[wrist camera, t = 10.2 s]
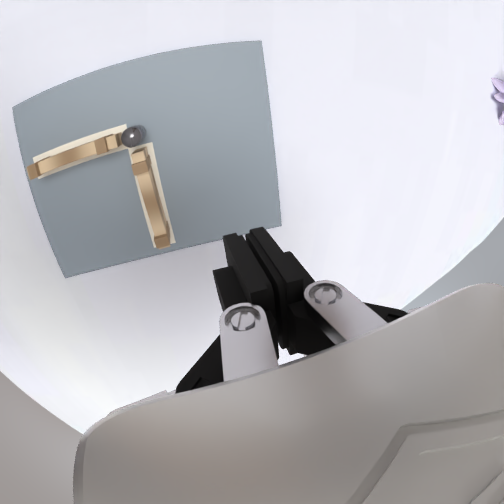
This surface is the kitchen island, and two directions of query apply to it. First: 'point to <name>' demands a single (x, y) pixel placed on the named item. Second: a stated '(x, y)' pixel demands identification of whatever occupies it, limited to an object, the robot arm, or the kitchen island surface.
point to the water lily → (499, 96)
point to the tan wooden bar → (151, 197)
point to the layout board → (154, 154)
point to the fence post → (133, 135)
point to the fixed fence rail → (74, 154)
